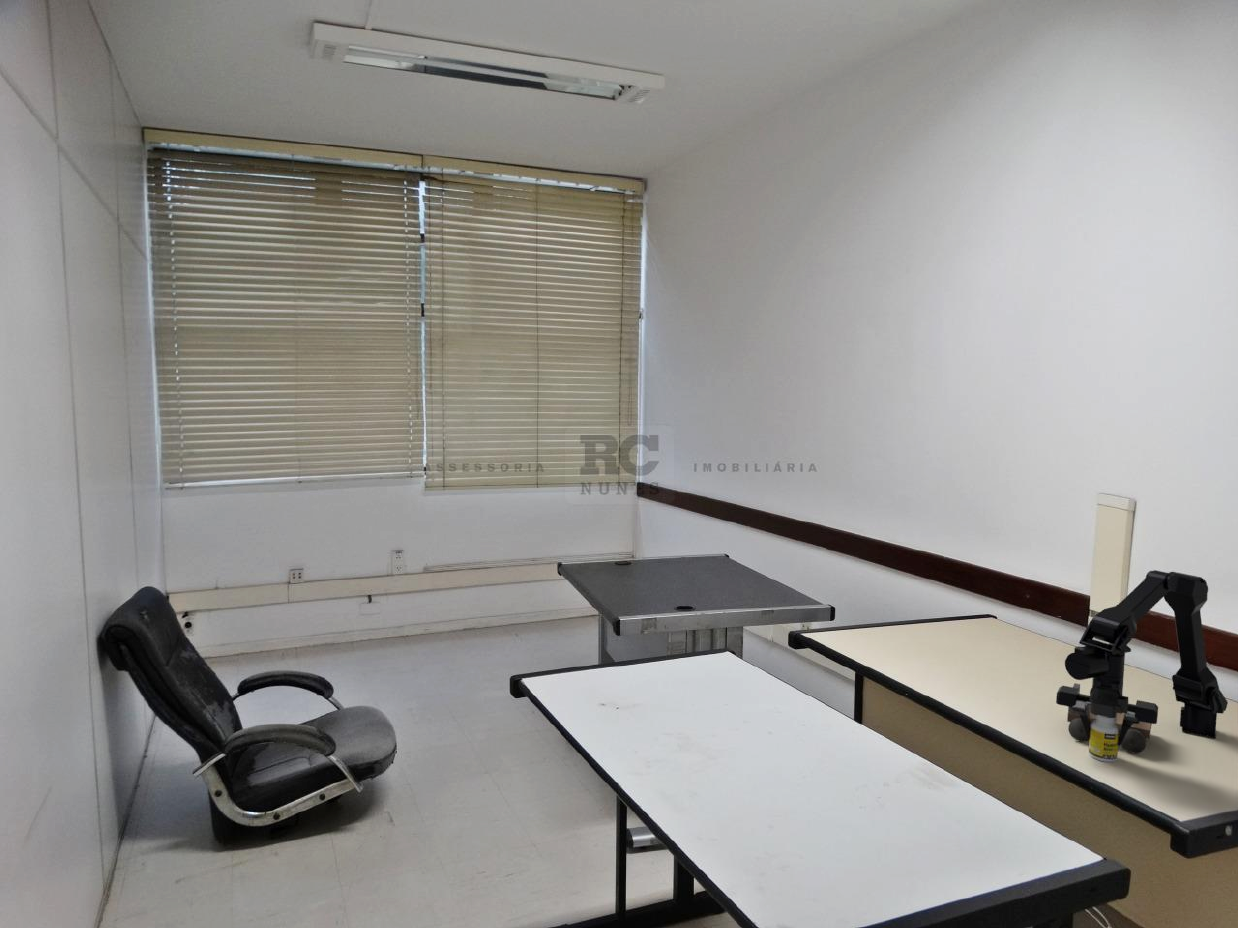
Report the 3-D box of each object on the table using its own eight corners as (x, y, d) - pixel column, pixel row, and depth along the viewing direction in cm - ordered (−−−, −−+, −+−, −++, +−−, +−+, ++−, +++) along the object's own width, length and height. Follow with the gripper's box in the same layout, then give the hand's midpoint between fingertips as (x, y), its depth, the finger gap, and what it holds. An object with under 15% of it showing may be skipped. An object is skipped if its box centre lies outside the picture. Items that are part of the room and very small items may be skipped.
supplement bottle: (1103, 764, 173) (1106, 720, 173) (1082, 753, 179) (1085, 710, 178) (1123, 760, 175) (1126, 717, 174) (1102, 750, 180) (1105, 707, 179)
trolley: (1151, 733, 189) (1153, 694, 188) (1147, 756, 177) (1150, 715, 176) (1073, 716, 198) (1075, 680, 197) (1065, 737, 186) (1067, 698, 185)
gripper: (1054, 674, 174) (1050, 743, 175) (1157, 693, 163) (1152, 767, 165) (1061, 660, 183) (1058, 726, 184) (1160, 677, 172) (1155, 747, 173)
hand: (1103, 741), depth 176 cm, fingers closed on supplement bottle, 5 cm apart
